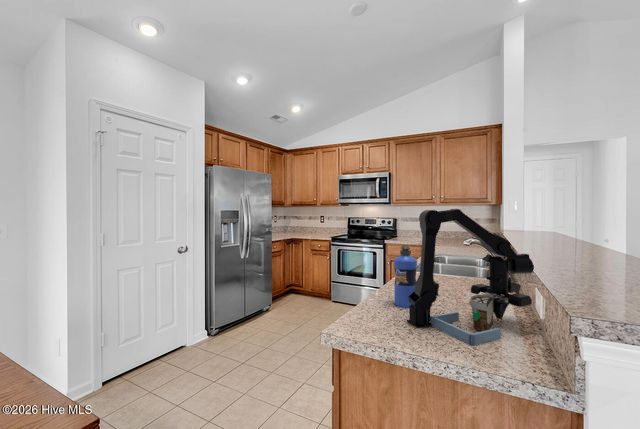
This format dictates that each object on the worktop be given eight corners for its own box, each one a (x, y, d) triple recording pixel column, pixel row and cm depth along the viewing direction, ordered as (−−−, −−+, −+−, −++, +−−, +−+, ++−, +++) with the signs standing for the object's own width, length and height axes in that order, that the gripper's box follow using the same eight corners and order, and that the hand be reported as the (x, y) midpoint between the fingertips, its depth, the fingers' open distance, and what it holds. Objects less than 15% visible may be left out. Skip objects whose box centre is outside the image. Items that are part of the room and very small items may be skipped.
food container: (474, 319, 107) (473, 292, 107) (494, 323, 103) (493, 294, 103) (465, 331, 97) (464, 301, 97) (487, 336, 93) (486, 304, 93)
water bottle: (409, 309, 118) (408, 247, 118) (389, 304, 126) (389, 245, 125) (421, 304, 125) (421, 245, 124) (402, 299, 132) (402, 243, 131)
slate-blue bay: (472, 345, 87) (472, 335, 87) (430, 325, 103) (430, 316, 103) (500, 338, 91) (500, 328, 91) (456, 319, 107) (456, 311, 107)
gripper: (542, 276, 98) (543, 324, 98) (490, 267, 115) (491, 307, 115) (519, 280, 93) (520, 330, 94) (469, 270, 111) (470, 311, 111)
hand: (499, 318), depth 103 cm, fingers closed
